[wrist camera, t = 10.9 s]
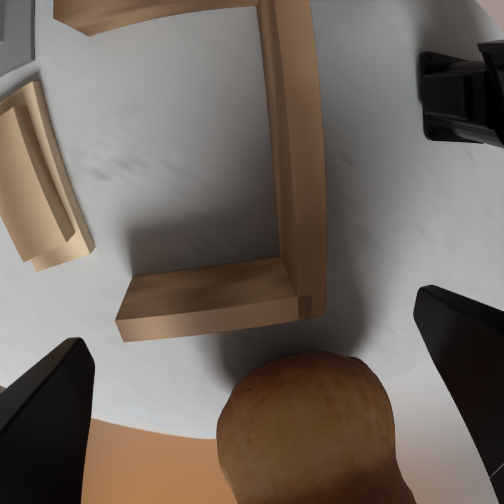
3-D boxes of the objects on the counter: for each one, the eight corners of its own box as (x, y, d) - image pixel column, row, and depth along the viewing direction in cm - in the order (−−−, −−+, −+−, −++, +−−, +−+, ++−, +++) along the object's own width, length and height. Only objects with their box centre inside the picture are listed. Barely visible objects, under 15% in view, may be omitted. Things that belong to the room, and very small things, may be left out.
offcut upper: (26, 105, 14) (12, 106, 13) (76, 232, 18) (66, 242, 16) (-14, 135, 14) (-28, 139, 13) (34, 251, 18) (23, 262, 17)
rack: (279, -16, 14) (300, -49, 9) (303, 273, 22) (325, 315, 18) (88, 15, 13) (53, -8, 9) (138, 296, 22) (123, 342, 17)
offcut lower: (45, 82, 15) (32, 80, 13) (98, 242, 20) (90, 254, 19) (-5, 114, 15) (-20, 116, 13) (46, 260, 20) (36, 272, 19)
